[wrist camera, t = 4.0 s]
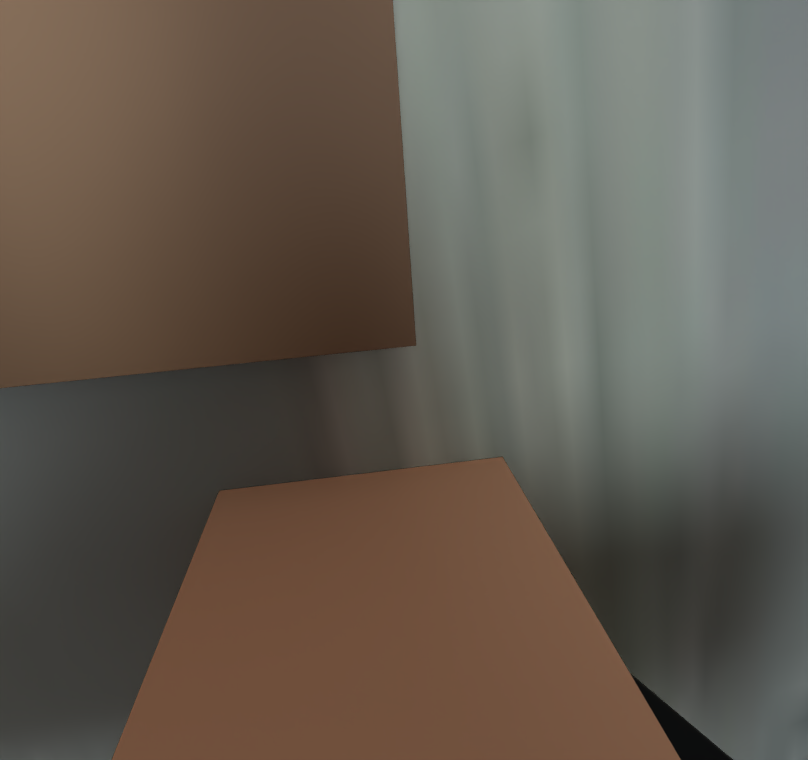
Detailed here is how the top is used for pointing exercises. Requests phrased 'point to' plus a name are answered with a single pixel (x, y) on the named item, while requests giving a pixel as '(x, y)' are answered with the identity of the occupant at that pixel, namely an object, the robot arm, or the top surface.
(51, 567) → the top surface
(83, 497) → the top surface
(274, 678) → the terracotta block
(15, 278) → the walnut board
